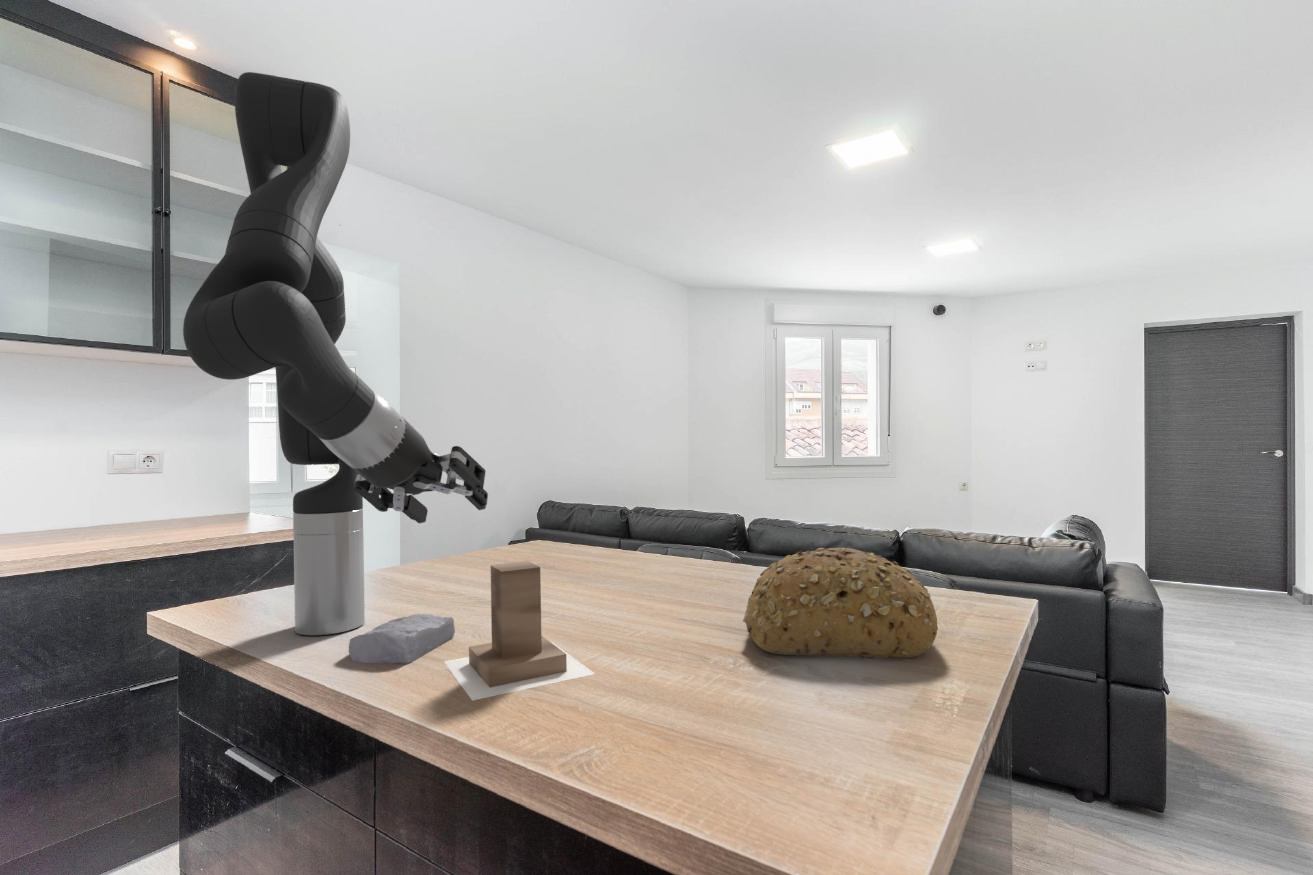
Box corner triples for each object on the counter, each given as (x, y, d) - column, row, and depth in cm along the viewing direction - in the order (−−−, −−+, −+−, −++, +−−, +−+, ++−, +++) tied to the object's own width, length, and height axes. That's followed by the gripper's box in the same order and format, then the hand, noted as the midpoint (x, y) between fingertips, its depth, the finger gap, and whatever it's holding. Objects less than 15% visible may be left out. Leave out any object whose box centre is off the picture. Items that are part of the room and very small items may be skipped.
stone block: (342, 678, 80) (413, 666, 78) (335, 639, 80) (406, 626, 78) (399, 650, 91) (462, 639, 89) (393, 617, 92) (456, 605, 90)
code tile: (443, 662, 79) (443, 661, 79) (551, 642, 86) (551, 641, 86) (472, 701, 67) (472, 700, 67) (595, 674, 74) (595, 673, 74)
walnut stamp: (469, 663, 78) (467, 564, 78) (540, 649, 82) (538, 556, 83) (489, 687, 70) (487, 577, 70) (566, 671, 75) (564, 567, 75)
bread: (904, 617, 96) (903, 536, 96) (956, 668, 74) (954, 564, 74) (740, 615, 98) (738, 537, 98) (745, 664, 77) (743, 564, 77)
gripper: (436, 395, 70) (507, 474, 82) (325, 425, 73) (410, 496, 85) (424, 451, 65) (501, 525, 78) (306, 480, 68) (399, 547, 81)
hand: (453, 510), depth 82 cm, fingers open, 8 cm apart
